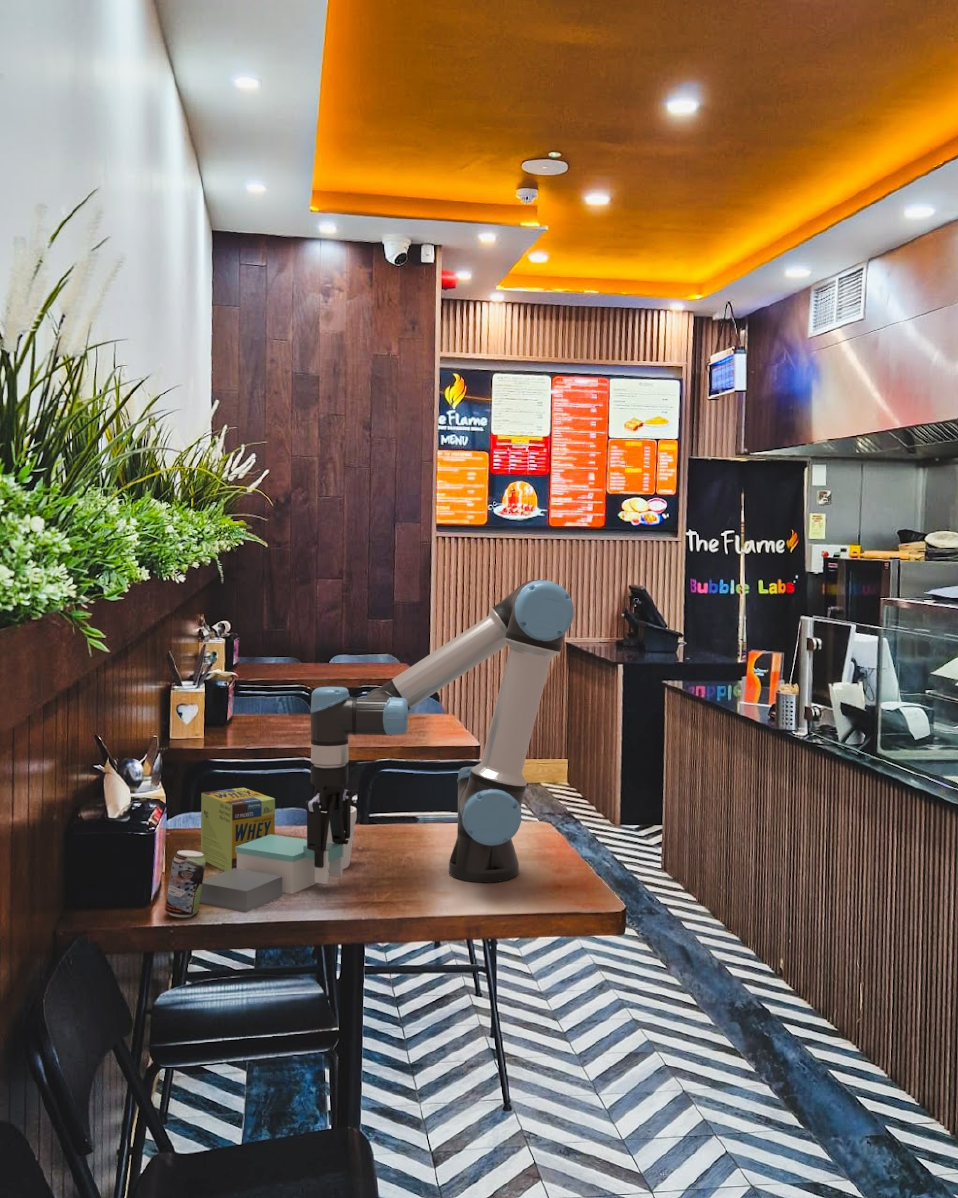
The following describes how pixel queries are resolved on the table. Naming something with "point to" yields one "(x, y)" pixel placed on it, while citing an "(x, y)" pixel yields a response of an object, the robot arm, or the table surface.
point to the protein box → (233, 823)
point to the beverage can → (185, 883)
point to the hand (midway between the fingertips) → (328, 879)
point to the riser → (240, 889)
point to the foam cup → (348, 846)
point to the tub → (282, 870)
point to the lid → (285, 848)
